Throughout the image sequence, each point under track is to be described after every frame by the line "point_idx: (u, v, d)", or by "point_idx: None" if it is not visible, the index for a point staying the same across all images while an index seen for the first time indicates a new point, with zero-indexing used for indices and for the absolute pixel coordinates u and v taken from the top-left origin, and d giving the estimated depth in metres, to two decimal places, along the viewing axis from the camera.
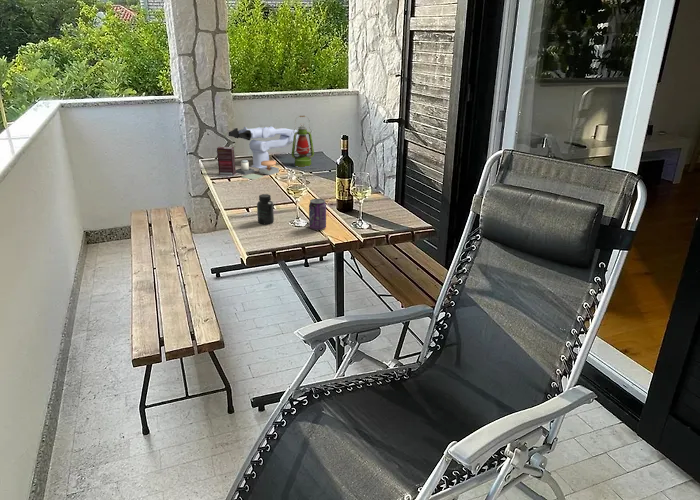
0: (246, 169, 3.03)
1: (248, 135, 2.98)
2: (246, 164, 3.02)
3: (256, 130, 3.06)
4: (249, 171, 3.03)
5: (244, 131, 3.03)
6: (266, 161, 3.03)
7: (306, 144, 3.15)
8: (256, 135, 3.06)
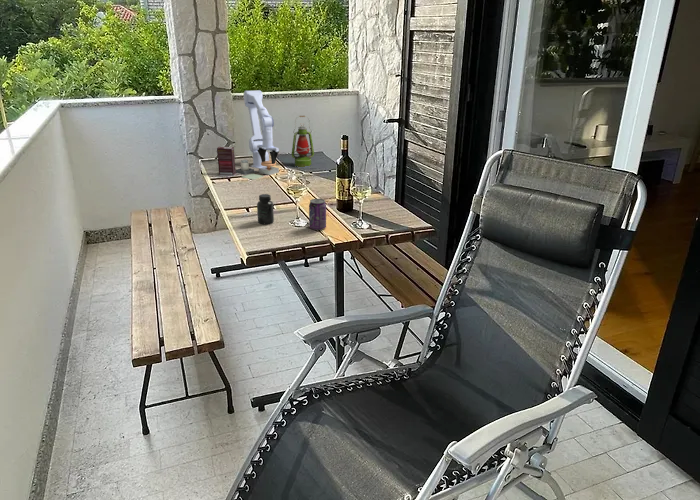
0: (246, 169, 3.03)
1: (274, 152, 2.97)
2: (246, 164, 3.02)
3: (272, 135, 2.95)
4: (249, 171, 3.03)
5: None
6: (266, 161, 3.03)
7: (306, 144, 3.15)
8: None
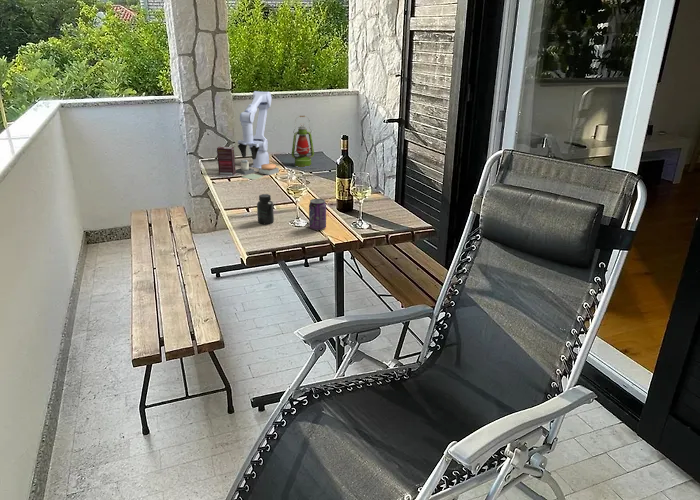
0: (246, 169, 3.03)
1: None
2: (246, 164, 3.02)
3: (249, 130, 2.94)
4: (249, 171, 3.03)
5: None
6: (266, 164, 3.04)
7: (306, 144, 3.15)
8: (252, 131, 2.96)
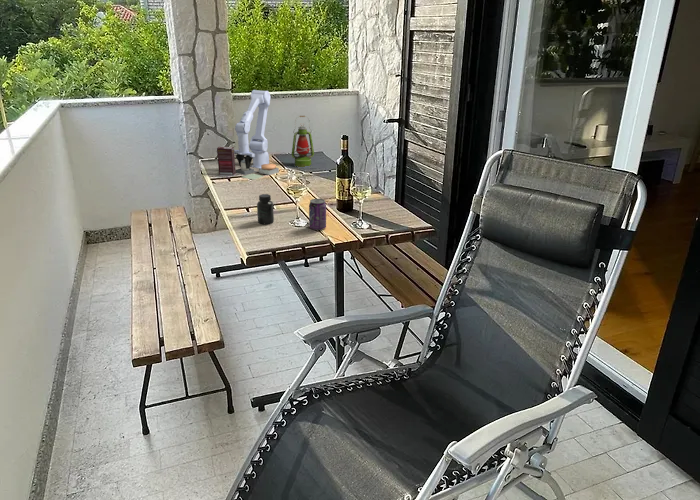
0: (246, 169, 3.03)
1: (249, 157, 3.00)
2: None
3: (244, 141, 2.96)
4: (249, 171, 3.03)
5: None
6: (266, 164, 3.04)
7: (306, 144, 3.15)
8: None
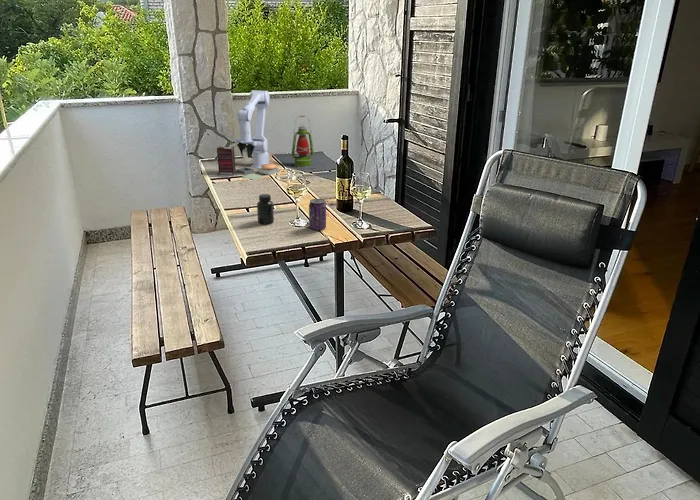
0: (248, 158, 2.96)
1: None
2: None
3: (247, 129, 2.90)
4: (249, 171, 3.03)
5: None
6: (266, 164, 3.04)
7: (306, 144, 3.15)
8: None
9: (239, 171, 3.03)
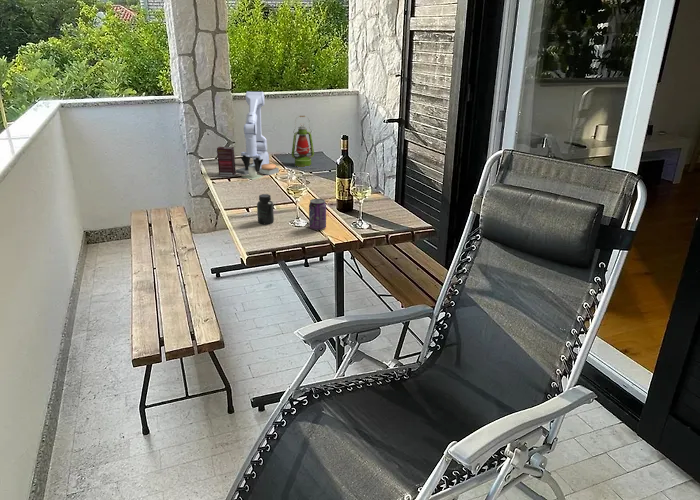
0: (254, 174, 2.93)
1: None
2: (254, 169, 2.92)
3: (254, 142, 2.86)
4: None
5: None
6: (266, 164, 3.04)
7: (306, 144, 3.15)
8: None
9: (239, 171, 3.03)
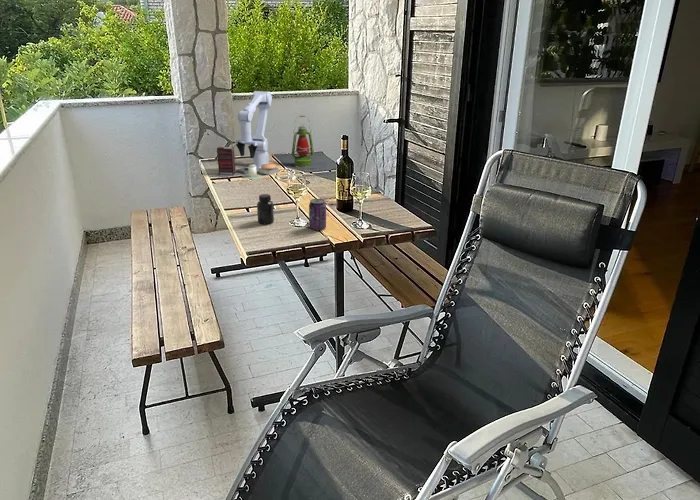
0: (254, 174, 2.93)
1: (253, 146, 2.96)
2: (254, 169, 2.92)
3: (247, 129, 2.93)
4: None
5: None
6: (266, 164, 3.04)
7: (306, 144, 3.15)
8: (250, 129, 2.95)
9: (239, 171, 3.03)
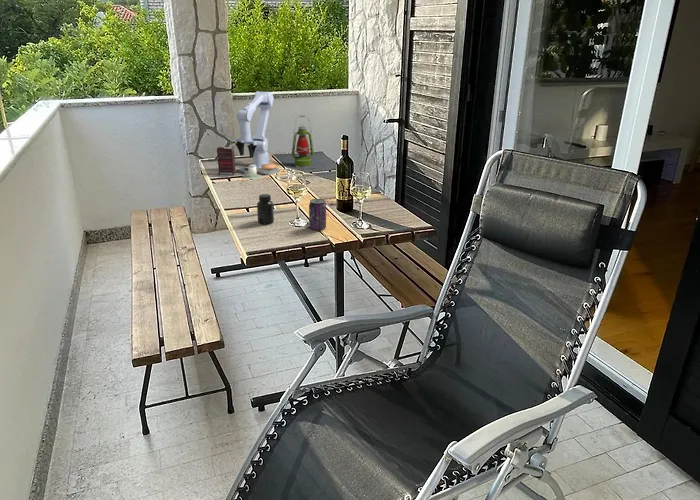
0: (254, 174, 2.93)
1: (252, 146, 2.97)
2: (254, 169, 2.92)
3: (246, 129, 2.93)
4: None
5: None
6: (266, 164, 3.04)
7: (306, 144, 3.15)
8: None
9: (239, 171, 3.03)
